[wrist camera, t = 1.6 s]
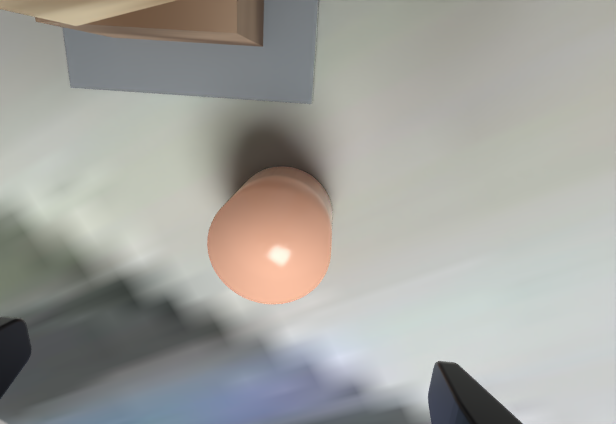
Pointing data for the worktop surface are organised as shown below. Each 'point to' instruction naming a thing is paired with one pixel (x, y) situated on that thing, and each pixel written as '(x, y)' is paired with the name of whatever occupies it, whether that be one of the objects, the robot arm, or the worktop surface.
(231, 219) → the peach rounded cylinder
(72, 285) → the worktop surface
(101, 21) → the base block
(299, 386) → the worktop surface
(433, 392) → the robot arm
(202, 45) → the slate coaster
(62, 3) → the top block
